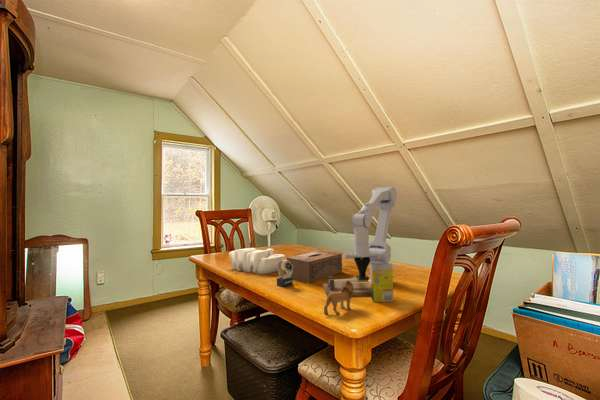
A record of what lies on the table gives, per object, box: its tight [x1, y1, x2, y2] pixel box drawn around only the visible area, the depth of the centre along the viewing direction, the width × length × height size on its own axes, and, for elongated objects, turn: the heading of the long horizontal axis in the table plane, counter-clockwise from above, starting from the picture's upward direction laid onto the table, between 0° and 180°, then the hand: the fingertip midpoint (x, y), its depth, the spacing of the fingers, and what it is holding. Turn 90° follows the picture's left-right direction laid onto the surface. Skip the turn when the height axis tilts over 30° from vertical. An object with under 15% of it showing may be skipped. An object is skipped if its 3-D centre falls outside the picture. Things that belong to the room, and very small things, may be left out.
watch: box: [276, 259, 294, 288], centre depth 124 cm, size 6×8×11 cm
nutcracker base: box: [322, 275, 372, 297], centre depth 114 cm, size 19×12×6 cm, turn 92°
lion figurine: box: [323, 280, 353, 316], centre depth 95 cm, size 15×5×9 cm, turn 138°
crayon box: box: [370, 270, 395, 303], centre depth 103 cm, size 7×3×12 cm, turn 91°
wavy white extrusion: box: [228, 247, 286, 275], centre depth 156 cm, size 35×16×11 cm, turn 56°
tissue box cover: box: [286, 249, 343, 284], centre depth 141 cm, size 26×14×10 cm, turn 136°
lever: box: [327, 273, 370, 284], centre depth 114 cm, size 16×5×6 cm, turn 92°
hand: (362, 276), depth 115 cm, fingers closed
